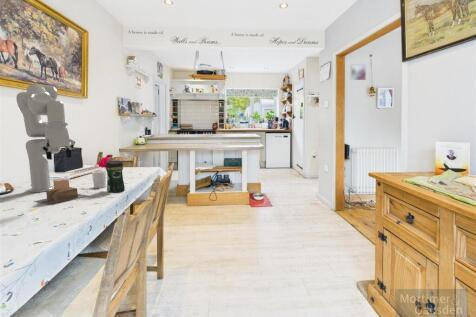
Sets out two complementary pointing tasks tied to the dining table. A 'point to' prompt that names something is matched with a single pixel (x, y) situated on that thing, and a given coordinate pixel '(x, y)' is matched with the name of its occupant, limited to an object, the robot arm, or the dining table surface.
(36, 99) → the robot arm
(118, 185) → the coffee jar
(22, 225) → the dining table surface
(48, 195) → the walnut base block
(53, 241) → the dining table surface
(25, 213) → the dining table surface
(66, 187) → the terracotta cube
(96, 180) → the white cup
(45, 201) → the charcoal board
